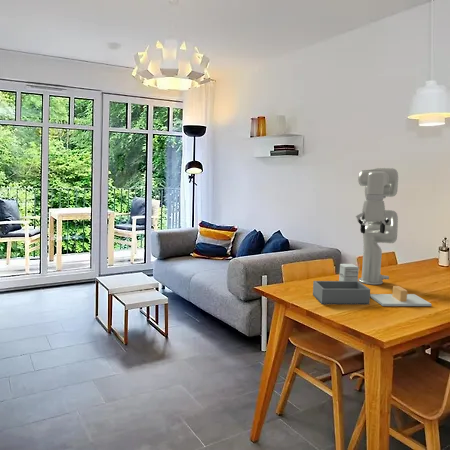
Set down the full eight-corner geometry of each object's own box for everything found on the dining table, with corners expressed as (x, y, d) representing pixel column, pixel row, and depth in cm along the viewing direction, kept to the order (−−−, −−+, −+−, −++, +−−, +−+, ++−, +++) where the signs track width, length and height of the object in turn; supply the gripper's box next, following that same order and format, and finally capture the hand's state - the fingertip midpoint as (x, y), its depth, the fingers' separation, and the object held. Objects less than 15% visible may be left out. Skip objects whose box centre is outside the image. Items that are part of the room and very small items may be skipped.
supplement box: (338, 287, 230) (339, 263, 229) (352, 287, 231) (353, 263, 229) (343, 291, 223) (344, 266, 221) (357, 291, 223) (359, 266, 222)
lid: (414, 297, 216) (415, 284, 215) (431, 307, 200) (432, 293, 200) (368, 297, 214) (369, 283, 213) (382, 307, 199) (383, 292, 198)
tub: (357, 295, 216) (358, 281, 216) (369, 304, 202) (370, 289, 201) (312, 295, 215) (313, 280, 214) (321, 304, 200) (322, 289, 199)
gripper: (388, 197, 219) (385, 231, 221) (354, 197, 217) (352, 231, 219) (395, 198, 211) (393, 234, 214) (360, 198, 209) (358, 234, 212)
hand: (372, 232), depth 217 cm, fingers open, 9 cm apart
